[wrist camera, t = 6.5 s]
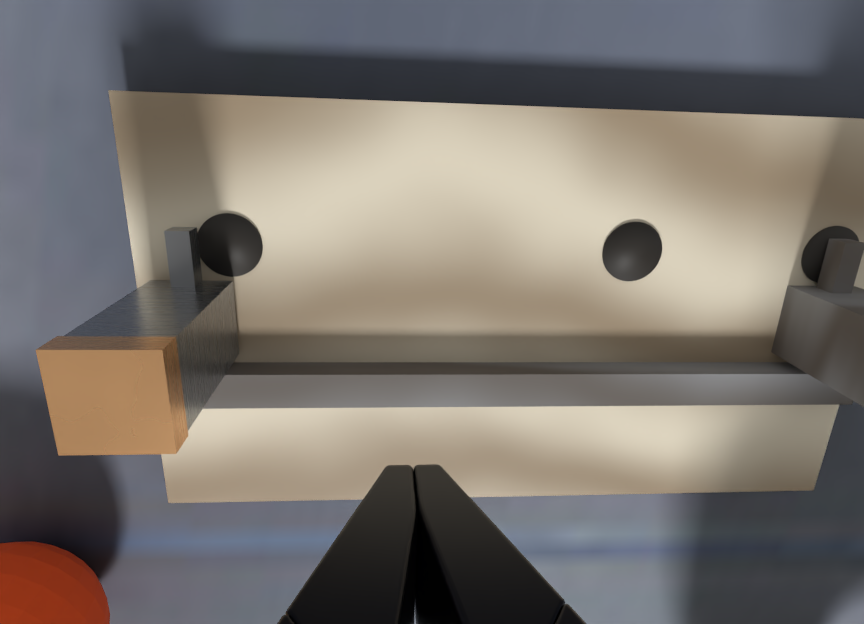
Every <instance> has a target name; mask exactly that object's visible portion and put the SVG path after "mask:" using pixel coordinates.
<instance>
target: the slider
mask: <svg viewBox="0 0 864 624" xmlns="http://www.w3.org/2000/svg"><path fill="white" fill-rule="evenodd" d="M164 234H165V242H166V250H167V259H168V267H169V275H170V280H150V281H148V282H147V283H145V284H144V285H142V286H141V287H139V288H138V289H136V290H134V291H133V292H131V293H130V294H128V295H127V296H125V297H124V298H122V299H120V300H119V301H117V302H116V303H114V304H113V305H111V306H110V307H108V308H106V309H105V310H103V311H102V312H100V313H99V314H97V315H96V316H94V317H92V318H91V319H89V320H88V321H86V322H85V323H83V324H82V325H80V326H78V327H77V328H75V329H74V330H72V331H71V332H69V333H68V334H66V335H64V336H57V337H55V338H54V339H52V340H51V341H49V342H47V343H46V344H44V345H43V346H41V347H40V348H38V349H36V353H37V358H38V363H39V367H40V372H41V377H42V381H43V386H44V391H45V395H46V400H47V404H48V409H49V414H50V418H51V423H52V428H53V432H54V437H55V442H56V446H57V451H58V455H136V454H177V452H178V451H179V449H180V448H181V446H182V445H183V443H184V442H185V440H186V439H187V437H188V430H189V429H190V427H191V426H192V424H193V423H194V421H195V420H196V418H197V417H198V415H199V414H200V412H201V411H202V409H203V408H204V406H205V405H206V403H207V402H208V400H209V399H210V397H211V396H212V394H213V393H214V391H215V389H216V388H217V386H218V385H219V383H220V382H221V380H222V379H223V377H224V376H225V374H226V373H227V371H228V370H229V368H230V367H231V365H232V364H233V362H234V361H235V359H236V358H237V356H238V355H239V345H238V333H237V322H236V310H235V299H234V288H233V281H210V280H202V271H201V261H200V252H199V242H198V233H197V227H172V228H169V229H167V230H165V231H164Z"/></svg>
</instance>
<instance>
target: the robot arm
mask: <svg viewBox="0 0 864 624" xmlns="http://www.w3.org/2000/svg"><path fill="white" fill-rule="evenodd" d="M414 610H415V615H416V624H586V623H585V622H584V621H583V620H582V618H581V617H580V616H579V615H578V614H577V613H576V612H575V611H574V610H573V609H572V608H571V607H570V605H568V604H565V601H564V599H563V598H562V597H561V596H560V595H559V594H558V593H557V592H556V591H555V589H554V588H553V587H552V586H551V585H550V584H549V583H548V582H547V581H546V580H545V579H544V578H543V576H542V575H541V574H540V573H539V572H538V571H537V570H536V569H535V568H534V567H533V566H532V564H531V563H530V562H529V561H528V560H527V559H526V558H525V557H524V556H523V555H522V554H521V553H520V551H519V550H518V549H517V548H516V547H515V546H514V545H513V544H512V543H511V542H510V541H509V539H508V538H507V537H506V536H505V535H504V534H503V533H502V532H501V531H500V530H499V529H498V528H497V526H496V525H495V524H494V523H493V522H492V521H491V520H490V519H489V518H488V517H487V516H486V514H485V513H484V512H483V511H482V510H481V509H480V508H479V507H478V506H477V505H476V504H475V503H474V501H473V500H472V499H471V498H470V497H469V496H468V495H467V494H466V493H465V492H464V491H463V489H462V488H461V487H460V486H459V485H458V484H457V483H456V482H455V481H454V480H453V479H452V477H451V476H450V475H449V474H448V473H447V472H446V471H445V470H444V469H443V468H442V467H441V466H440V465H438V464H427V465H416V466H414V468H412V466H410V465H388V466H386V467H385V468H384V470H383V471H382V473H381V474H380V475H379V477H378V478H377V480H376V481H375V483H374V484H373V486H372V487H371V489H370V490H369V491H368V493H367V494H366V496H365V497H364V499H363V500H362V502H361V503H360V505H359V506H358V507H357V509H356V510H355V512H354V513H353V515H352V516H351V518H350V519H349V521H348V522H347V523H346V525H345V526H344V528H343V529H342V531H341V532H340V534H339V535H338V537H337V538H336V539H335V541H334V542H333V544H332V545H331V547H330V548H329V550H328V551H327V553H326V554H325V555H324V557H323V558H322V560H321V561H320V563H319V564H318V566H317V567H316V569H315V570H314V571H313V573H312V574H311V576H310V577H309V579H308V580H307V582H306V583H305V585H304V586H303V587H302V589H301V590H300V592H299V593H298V595H297V596H296V598H295V599H294V601H293V602H292V603H291V605H290V606H289V608H288V609H287V611H286V615H283V616H282V617H281V619H280V620H279V622H278V623H277V624H414Z"/></svg>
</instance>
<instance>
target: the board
mask: <svg viewBox="0 0 864 624" xmlns="http://www.w3.org/2000/svg"><path fill="white" fill-rule="evenodd" d="M108 91H109V98H110V105H111V112H112V119H113V126H114V132H115V139H116V146H117V153H118V160H119V167H120V174H121V181H122V187H123V194H124V201H125V208H126V215H127V222H128V229H129V236H130V242H131V249H132V256H133V263H134V270H135V277H136V284H137V289H138V288H139V287H141V286H142V285H144V284H145V283H147V282H148V281H150V280H170V275H169V267H168V259H167V250H166V242H165V234H164V231H165V230H167V229H169V228H172V227H197V233H198V242H199V252H200V261H201V271H202V280H210V281H233V288H234V299H235V310H236V322H237V333H238V345H239V355H238V356H237V358H236V359H235V361H234V362H233V364H232V365H231V367H230V368H229V370H228V371H227V373H226V374H225V376H224V377H223V379H222V380H221V382H220V383H219V385H218V386H217V388H216V389H215V391H214V393H213V394H212V396H211V397H210V399H209V400H208V402H207V403H206V405H205V406H204V408H203V409H202V411H201V412H200V414H199V415H198V417H197V418H196V420H195V421H194V423H193V424H192V426H191V427H190V429H189V430H188V437H187V439H186V440H185V442H184V443H183V445H182V446H181V448H180V449H179V451H178V452H177V454H161V456H162V462H163V469H164V476H165V483H166V490H167V497H168V503H198V502H249V501H300V500H351V499H364V497H365V496H366V494H367V493H368V491H369V490H370V489H371V487H372V486H373V484H374V483H375V481H376V480H377V478H378V477H379V475H380V474H381V473H382V471H383V470H384V468H385V467H386V466H388V465H410V466H412V468H414V466H416V465H427V464H438V465H440V466H441V467H442V468H443V469H444V470H445V471H446V472H447V473H448V474H449V475H450V476H451V477H452V479H453V480H454V481H455V482H456V483H457V484H458V485H459V486H460V487H461V488H462V489H463V491H464V492H465V493H466V494H467V495H468V496H469V497H505V496H556V495H607V494H658V493H709V492H760V491H812V490H814V487H815V484H816V481H817V477H818V474H819V471H820V467H821V464H822V461H823V457H824V454H825V451H826V448H827V444H828V441H829V438H830V434H831V431H832V428H833V424H834V421H835V418H836V414H837V411H838V408H839V405H848V404H852V403H853V401H854V402H856V403H858V404H859V405H861V406H863V407H864V119H862V118H835V117H808V116H781V115H755V114H728V113H701V112H674V111H647V110H621V109H594V108H567V107H540V106H513V105H486V104H460V103H433V102H406V101H379V100H352V99H326V98H299V97H272V96H245V95H218V94H192V93H165V92H138V91H111V90H108Z"/></svg>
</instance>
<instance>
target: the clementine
mask: <svg viewBox="0 0 864 624" xmlns="http://www.w3.org/2000/svg"><path fill="white" fill-rule="evenodd" d="M109 621H110V612H109V607H108V602H107V597H106V595H105V592H104V590H103V588H102V585H101V583H100V581H99V580H98V578H97V576H96V574H95V572H94V571H93V570H92V569H91V568H90V567H89V566H88V565H87V564H86V563H85V562H84V561H83V560H81V559H80V558H78V557H77V556H75V555H74V554H72V553H70V552H69V551H66V550H64V549H61V548H59V547H56V546H53V545H50V544H44V543H39V542H9V543H0V624H109Z"/></svg>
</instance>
